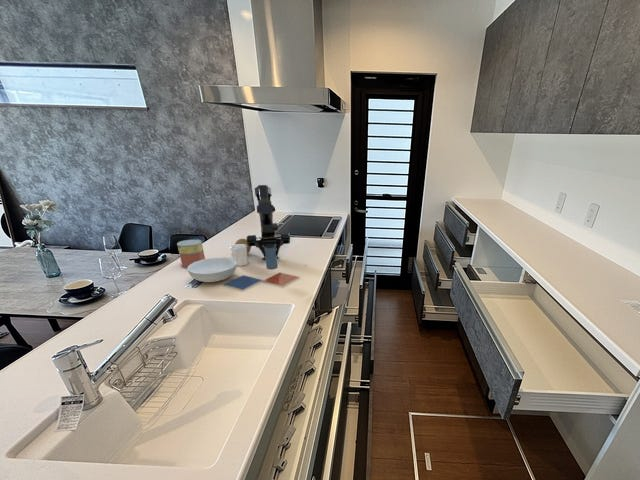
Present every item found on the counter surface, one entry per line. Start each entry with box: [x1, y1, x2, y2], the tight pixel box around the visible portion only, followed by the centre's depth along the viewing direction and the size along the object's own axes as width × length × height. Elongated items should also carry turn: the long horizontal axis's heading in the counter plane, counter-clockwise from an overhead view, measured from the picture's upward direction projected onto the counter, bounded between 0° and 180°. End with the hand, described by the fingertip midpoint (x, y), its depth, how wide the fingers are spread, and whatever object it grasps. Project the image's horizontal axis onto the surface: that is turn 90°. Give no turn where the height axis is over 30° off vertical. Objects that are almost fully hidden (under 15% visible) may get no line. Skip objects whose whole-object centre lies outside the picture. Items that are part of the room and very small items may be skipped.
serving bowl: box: [186, 257, 237, 283], centre depth 144 cm, size 21×21×7 cm
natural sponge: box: [234, 238, 252, 255], centre depth 174 cm, size 9×9×10 cm
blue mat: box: [222, 275, 262, 290], centre depth 141 cm, size 12×12×1 cm
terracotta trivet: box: [263, 272, 299, 287], centre depth 146 cm, size 12×12×1 cm
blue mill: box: [264, 244, 279, 271], centre depth 138 cm, size 5×5×11 cm
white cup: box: [229, 243, 248, 267], centre depth 162 cm, size 8×8×10 cm
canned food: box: [176, 238, 206, 269], centre depth 159 cm, size 11×11×12 cm
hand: (270, 256), depth 137 cm, fingers closed on blue mill, 5 cm apart
